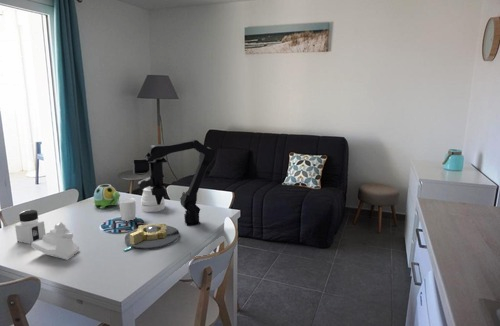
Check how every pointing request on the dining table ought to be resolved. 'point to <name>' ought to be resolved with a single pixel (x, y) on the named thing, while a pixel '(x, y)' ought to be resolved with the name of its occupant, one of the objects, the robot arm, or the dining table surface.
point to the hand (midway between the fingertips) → (158, 204)
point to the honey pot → (150, 201)
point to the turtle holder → (106, 196)
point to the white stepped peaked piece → (57, 243)
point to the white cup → (128, 209)
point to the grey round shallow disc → (153, 244)
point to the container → (29, 227)
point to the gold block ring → (143, 235)
